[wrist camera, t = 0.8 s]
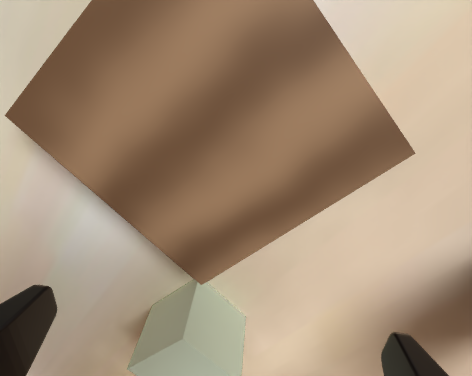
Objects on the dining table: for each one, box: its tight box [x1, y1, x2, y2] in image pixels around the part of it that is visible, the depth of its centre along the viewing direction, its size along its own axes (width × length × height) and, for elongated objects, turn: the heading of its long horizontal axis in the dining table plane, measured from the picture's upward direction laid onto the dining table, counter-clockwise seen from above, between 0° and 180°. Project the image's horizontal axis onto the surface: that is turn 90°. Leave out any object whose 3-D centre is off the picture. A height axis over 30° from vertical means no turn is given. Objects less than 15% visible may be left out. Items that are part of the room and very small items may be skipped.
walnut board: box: [5, 0, 415, 285], centre depth 19 cm, size 16×16×3 cm
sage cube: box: [127, 279, 246, 376], centre depth 26 cm, size 6×6×6 cm
